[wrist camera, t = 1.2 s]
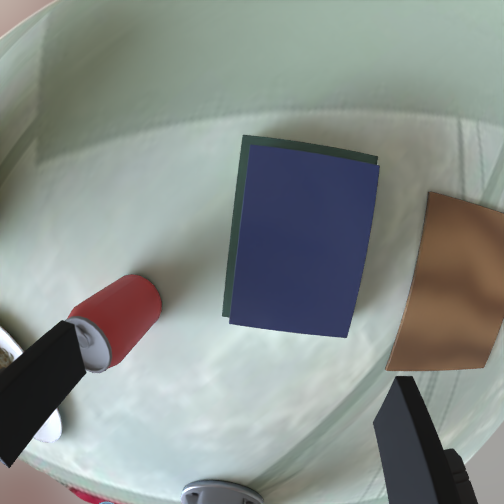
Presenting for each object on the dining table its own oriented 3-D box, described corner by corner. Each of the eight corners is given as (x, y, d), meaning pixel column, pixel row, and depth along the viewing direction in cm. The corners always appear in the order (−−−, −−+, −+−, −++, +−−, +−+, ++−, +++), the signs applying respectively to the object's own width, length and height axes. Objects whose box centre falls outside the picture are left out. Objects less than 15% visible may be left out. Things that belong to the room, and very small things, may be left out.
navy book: (337, 318, 29) (346, 338, 25) (235, 304, 30) (229, 323, 26) (364, 168, 26) (379, 165, 22) (254, 151, 27) (250, 144, 22)
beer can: (149, 265, 32) (92, 302, 21) (172, 317, 34) (129, 373, 22) (106, 282, 33) (45, 319, 22) (129, 330, 34) (79, 381, 23)
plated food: (19, 305, 36) (6, 312, 33) (91, 448, 41) (84, 458, 38) (-44, 314, 39) (-54, 319, 36) (10, 424, 45) (3, 431, 42)
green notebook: (341, 322, 32) (345, 331, 30) (225, 307, 33) (222, 316, 30) (370, 158, 28) (377, 156, 26) (245, 139, 29) (242, 134, 27)
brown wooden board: (482, 366, 32) (483, 368, 32) (384, 369, 33) (386, 371, 33) (524, 221, 28) (526, 221, 27) (428, 191, 28) (430, 191, 28)
